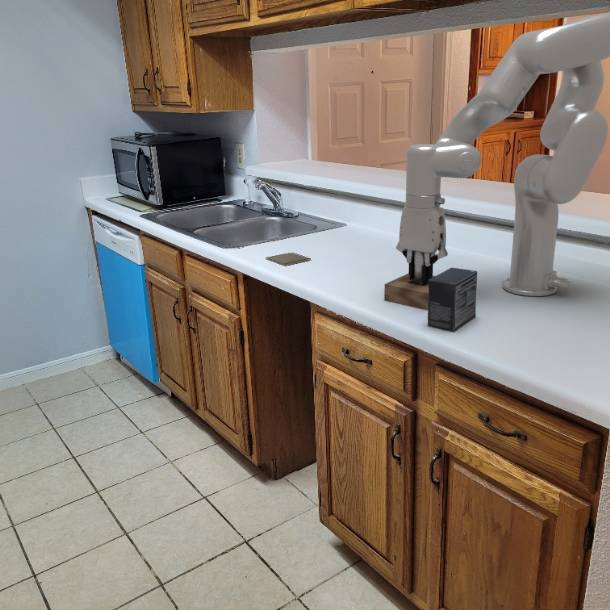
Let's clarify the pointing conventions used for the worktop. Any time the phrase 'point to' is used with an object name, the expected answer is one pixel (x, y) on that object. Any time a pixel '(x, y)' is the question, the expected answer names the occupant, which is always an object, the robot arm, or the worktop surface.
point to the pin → (419, 267)
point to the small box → (452, 299)
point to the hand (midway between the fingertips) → (420, 279)
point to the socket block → (407, 292)
